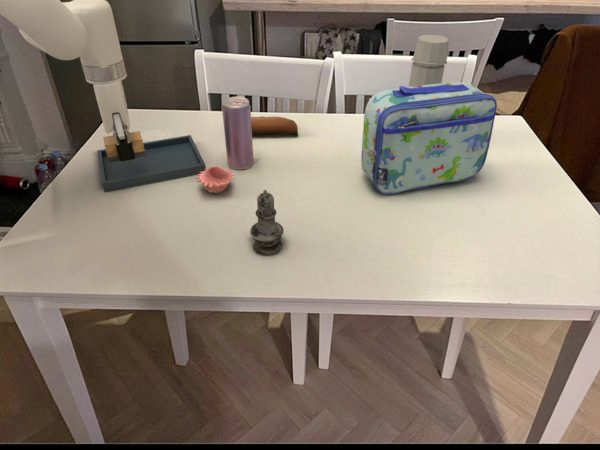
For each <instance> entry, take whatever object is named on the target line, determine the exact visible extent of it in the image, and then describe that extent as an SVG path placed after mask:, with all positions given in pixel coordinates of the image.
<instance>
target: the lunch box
mask: <svg viewBox="0 0 600 450" xmlns="http://www.w3.org/2000/svg"><path fill="white" fill-rule="evenodd" d="M497 108H498V103H497V99H496V98H495V97H494V96H493V95H491V94H488V93H484V92H483V91H481V90H480V88H478V87H477V86H475V84H472V83H469V82H442V83H440V84H431V85H422V86H413V87H409V86H403V85H400V86H399V88H398V87H397V88H392V89H391V88H390V89H385V90H381V91H379V92H377V93H375V94H374V95H372V96H371V97H370V98H369V100H368V102H367V103H366V106H365V110H364V116H363V126H362V127H363V128H362V137H361V139H362V140H361V156H360V157H361V158H360V161H361V169H362V171H363V173H364V174H365V175H366V176H368V179H370V181H371V182H372V183H373V186H374V187H375V188H376V190H377V191H378V192H379V193H381V194H383V195H387V196H390V195H395V194H400V193H403V192H409V191H413V190H420V189H425V188H429V187H434V186H437V185H443V184H449V183H458V182H463V181H468V180H470V179H472V178H474V177H476V175H477V174H479V173H480V172H481V170H482V169H483V167H484V165H485V164H486V160H487V156H488V152H489V149H490V144H491V140H492V135H493V129H494V123H495V118H496V113H497Z"/></svg>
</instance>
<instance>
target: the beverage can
mask: <svg viewBox="0 0 600 450" xmlns="http://www.w3.org/2000/svg"><path fill="white" fill-rule="evenodd" d="M221 111H222V121H223V133H224V141H225V143H224V144H225V150H226V151H225V152H226V162H227V166H229V167H230V168H231V169H232V170H236V171H242V170H247V169H249V168H251V167H252V165H254V160H255V159H254V145H253V143H254V142H253V134H252V126H251V117H252V110H251V105H250V100H249V99H248V98H247V97H243V96H230V97H227V98H225V99H224V100H222V105H221Z"/></svg>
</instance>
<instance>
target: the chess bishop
mask: <svg viewBox="0 0 600 450" xmlns="http://www.w3.org/2000/svg"><path fill="white" fill-rule="evenodd" d="M256 205H257V209H256V211H255V216H256V217H257V222H255V223H254V224H252V226H251V227H250V228H249V229H250V230H249V234H250V236H251V237H252V239H253V241H254V242H253V243H252V250H253V251H254V252H255V253H256V254H258V255H260V256H266V257H267V256H275V255H277V254H278V253H279V252H281V250H282V249H283V243H282V241H281V239H282V236H283V234H284V227H283V225H282V224H281V223H280V222H277V221H276V215H277V210H276V208H275V199H274V195H273V194H271V193H270V192H268V190H267V189H264V190H263V191H262V192H261V193H259V195H257V197H256Z"/></svg>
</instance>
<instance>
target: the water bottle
mask: <svg viewBox="0 0 600 450" xmlns="http://www.w3.org/2000/svg"><path fill="white" fill-rule="evenodd" d="M449 43H450V40H449V38H448V37H446V36H444V35H437V34H422V35H419V36H418V37H417V40H416V43H415V49H414V53H413V56H412V57H411V60H410V61H411V68H410V75H409V81H408V87H413V86H422V85H431V84H440V83H443V77H444V72H445V65H447V64H448V51H449Z"/></svg>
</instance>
